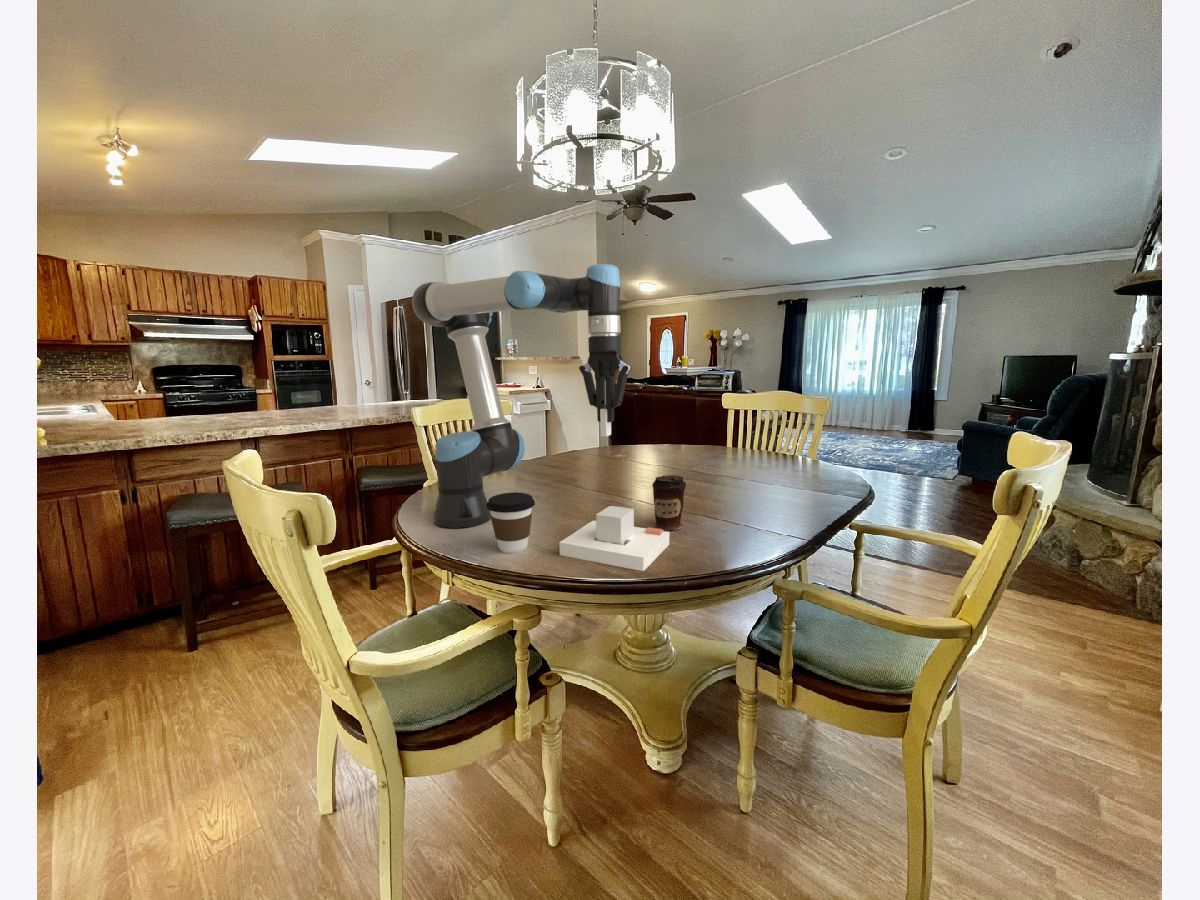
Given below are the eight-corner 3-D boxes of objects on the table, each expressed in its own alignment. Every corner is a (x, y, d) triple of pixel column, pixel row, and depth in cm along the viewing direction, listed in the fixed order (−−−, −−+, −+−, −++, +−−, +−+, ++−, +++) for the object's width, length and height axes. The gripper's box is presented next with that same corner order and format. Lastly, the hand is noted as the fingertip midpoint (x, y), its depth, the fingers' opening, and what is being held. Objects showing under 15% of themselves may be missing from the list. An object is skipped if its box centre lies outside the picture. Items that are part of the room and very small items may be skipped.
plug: (621, 556, 109) (620, 518, 107) (596, 552, 112) (596, 514, 110) (633, 545, 115) (633, 508, 113) (610, 541, 118) (610, 505, 116)
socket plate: (643, 571, 102) (643, 553, 101) (559, 555, 111) (559, 538, 110) (669, 544, 116) (669, 528, 115) (593, 531, 125) (593, 517, 124)
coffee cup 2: (684, 534, 122) (685, 482, 120) (650, 532, 124) (650, 481, 121) (685, 522, 131) (686, 474, 128) (654, 520, 132) (654, 473, 130)
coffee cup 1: (495, 539, 121) (492, 491, 119) (540, 539, 121) (538, 491, 118) (483, 557, 110) (480, 505, 108) (532, 557, 110) (530, 505, 108)
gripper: (572, 335, 116) (574, 436, 120) (623, 334, 110) (624, 439, 114) (587, 336, 122) (589, 431, 127) (636, 334, 116) (636, 434, 121)
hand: (606, 435), depth 121 cm, fingers closed
